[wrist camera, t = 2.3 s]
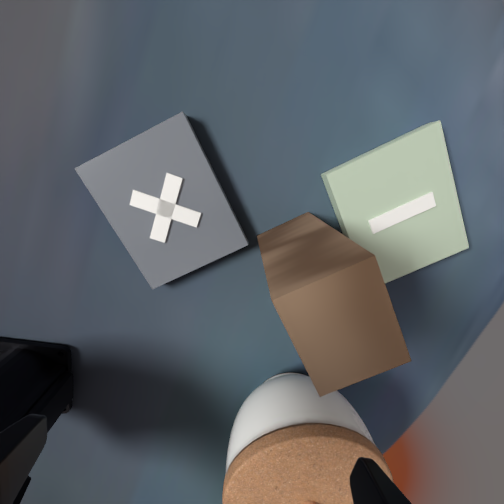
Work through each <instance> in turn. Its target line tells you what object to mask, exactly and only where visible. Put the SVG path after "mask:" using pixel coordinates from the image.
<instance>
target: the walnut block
mask: <svg viewBox="0 0 504 504" xmlns="http://www.w3.org/2000/svg"><path fill="white" fill-rule="evenodd" d="M257 238H258V243H259V247H260V251H261V256H262V260H263V265H264V269H265V273H266V278H267V282H268V287H269V291H270V295H271V300H272V302H273V304H274V306H275V308H276V310H277V312H278V314H279V316H280V318H281V320H282V322H283V324H284V326H285V328H286V330H287V332H288V334H289V336H290V338H291V340H292V342H293V344H294V346H295V348H296V350H297V352H298V354H299V356H300V358H301V360H302V362H303V364H304V366H305V368H306V370H307V372H308V374H309V376H310V378H311V380H312V382H313V384H314V386H315V388H316V390H317V392H318V394H319V396H320V397H321V396H324V395H326V394H329V393H332V392H334V391H337V390H339V389H342V388H344V387H347V386H349V385H352V384H354V383H357V382H360V381H362V380H365V379H367V378H370V377H372V376H375V375H377V374H380V373H382V372H385V371H387V370H390V369H393V368H395V367H398V366H400V365H403V364H405V363H408V362H410V361H411V358H410V355H409V352H408V349H407V347H406V344H405V341H404V338H403V335H402V332H401V329H400V326H399V323H398V320H397V318H396V315H395V312H394V309H393V306H392V303H391V300H390V297H389V294H388V291H387V289H386V286H385V283H384V280H383V277H382V274H381V271H380V268H379V265H378V262H377V260H376V257H375V255H374V254H372V253H371V252H369V251H368V250H366V249H364V248H363V247H361V246H360V245H358V244H357V243H355V242H354V241H352V240H351V239H349V238H348V237H346V236H344V235H343V234H341V233H340V232H338V231H337V230H335V229H334V228H332V227H331V226H329V225H328V224H326V223H324V222H323V221H321V220H320V219H318V218H317V217H315V216H314V215H312V214H311V213H309V212H307V213H305V214H303V215H301V216H298V217H296V218H294V219H292V220H290V221H288V222H285V223H283V224H281V225H279V226H277V227H275V228H273V229H270V230H268V231H266V232H264V233H262V234H260V235H257Z"/></svg>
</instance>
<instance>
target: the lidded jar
mask: <svg viewBox="0 0 504 504" xmlns="http://www.w3.org/2000/svg"><path fill="white" fill-rule="evenodd" d="M359 457H364V458H371V459H373V460H374V461H375V462H376V463H377V464H378V465H379V467H380V468H381V469H382V470H383V471H384V472H385V473H386V475H387V476H388V477H389V478H390V479H391V480H392V482H393V478H392V474H391V472H390V470H389V468H388V466H387V463H386V462H385V459H384V457H383V455H382V454H381V452H380V451H379V449H378V448H377V447H376V445H375V443H374V441H373V439H372V437H371V435H370V433H369V431H368V430H367V428H366V426H365V424H364V422H363V421H362V419H361V418H360V416H359V415H358V413H357V412H356V411H355V409H354V408H353V407H352V406H351V404H350V403H349V402H348V401H347V399H346V398H345V397H344V396H342V395H341V394H340V393H339V392H338V391H334V392H332V393H329V394H326V395H324V396H321V397H320V396H319V394H318V392H317V390H316V388H315V386H314V384H313V382H312V380H311V378H310V376H306V375H304V374H300V373H282V374H278V375H275V376H273V377H271V378H269V379H268V380H266V381H265V382H264V383H263V384H261V385H260V386H259V387H257V388H256V389H255V390H254V391H253V392H252V393H251V394H250V395H249V396H248V397H247V399H246V400H245V401H244V403H243V404H242V406H241V408H240V410H239V412H238V414H237V416H236V418H235V421H234V424H233V427H232V431H231V435H230V441H229V446H228V452H227V462H226V475H225V480H224V485H223V504H353V499H352V493H351V488H350V474H351V472H352V470H353V468H354V465H355V463H356V461H357V459H358V458H359Z"/></svg>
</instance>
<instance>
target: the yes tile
mask: <svg viewBox="0 0 504 504" xmlns="http://www.w3.org/2000/svg"><path fill="white" fill-rule="evenodd" d="M321 176H322V179H323V182H324V184H325V187H326V190H327V192H328V195H329V198H330V201H331V203H332V206H333V209H334V211H335V214H336V217H337V219H338V222H339V225H340V227H341V230H342V233H343V235H344V236H346V237H348V238H349V239H351V240H352V241H354V242H355V243H357V244H358V245H360V246H361V247H363V248H364V249H366V250H368V251H369V252H371V253H372V254H374V255H375V257H376V260H377V262H378V265H379V268H380V271H381V274H382V277H383V280H384V283H388V282H390V281H392V280H395V279H397V278H399V277H402V276H404V275H406V274H409V273H411V272H413V271H416V270H418V269H420V268H423V267H425V266H427V265H430V264H432V263H434V262H437V261H439V260H442V259H444V258H446V257H449V256H451V255H453V254H456V253H458V252H460V251H463V250H465V249H467V248H469V245H468V241H467V236H466V232H465V227H464V223H463V218H462V214H461V210H460V205H459V201H458V196H457V192H456V187H455V183H454V179H453V174H452V170H451V165H450V161H449V157H448V152H447V148H446V143H445V139H444V134H443V130H442V126H441V121H440V120H439V121H435V122H431V123H427V124H425V125H423V126H421V127H419V128H417V129H415V130H413V131H410V132H408V133H406V134H404V135H402V136H400V137H398V138H396V139H394V140H392V141H389V142H387V143H385V144H383V145H381V146H379V147H377V148H375V149H373V150H371V151H369V152H366V153H364V154H362V155H360V156H358V157H356V158H354V159H352V160H350V161H348V162H345V163H343V164H341V165H339V166H337V167H335V168H333V169H331V170H329V171H327V172H324V173H322V174H321Z"/></svg>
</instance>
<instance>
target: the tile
mask: <svg viewBox="0 0 504 504" xmlns="http://www.w3.org/2000/svg"><path fill="white" fill-rule="evenodd" d="M75 170H76V171H77V173H78V175H79V176H80V178H81V179H82V181H83V182H84V184H85V185H86V187H87V189H88V190H89V192H90V193H91V195H92V196H93V198H94V199H95V201H96V202H97V204H98V206H99V207H100V209H101V210H102V212H103V213H104V215H105V216H106V218H107V220H108V221H109V223H110V224H111V226H112V227H113V229H114V230H115V232H116V233H117V235H118V237H119V238H120V240H121V241H122V243H123V244H124V246H125V247H126V249H127V251H128V252H129V254H130V255H131V257H132V258H133V260H134V261H135V263H136V264H137V266H138V268H139V269H140V271H141V272H142V274H143V275H144V277H145V278H146V280H147V282H148V283H149V285H150V286H151V288H152V289H154V288H157V287H159V286H161V285H163V284H165V283H167V282H170V281H172V280H174V279H176V278H178V277H180V276H182V275H185V274H187V273H189V272H191V271H193V270H195V269H198V268H200V267H202V266H204V265H206V264H208V263H211V262H213V261H215V260H217V259H219V258H221V257H224V256H226V255H228V254H230V253H232V252H234V251H236V250H239V249H241V248H243V247H245V246H247V245H248V239H247V237H246V235H245V233H244V231H243V229H242V227H241V225H240V223H239V221H238V219H237V217H236V215H235V213H234V211H233V209H232V207H231V205H230V203H229V201H228V199H227V197H226V195H225V193H224V190H223V188H222V186H221V184H220V182H219V180H218V178H217V176H216V174H215V172H214V170H213V168H212V166H211V164H210V162H209V160H208V158H207V156H206V154H205V152H204V150H203V148H202V146H201V144H200V142H199V140H198V138H197V136H196V134H195V131H194V129H193V127H192V125H191V123H190V121H189V119H188V117H187V115H186V114H185V113H184V112H181V113H179V114H177V115H175V116H173V117H171V118H170V119H168V120H166V121H164V122H162V123H160V124H158V125H156V126H154V127H153V128H151V129H149V130H147V131H145V132H143V133H141V134H139V135H137V136H135V137H134V138H132V139H130V140H128V141H126V142H124V143H122V144H120V145H118V146H116V147H115V148H113V149H111V150H109V151H107V152H105V153H103V154H101V155H99V156H98V157H96V158H94V159H92V160H90V161H88V162H86V163H84V164H82V165H80V166H79V167H77V168H75Z"/></svg>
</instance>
